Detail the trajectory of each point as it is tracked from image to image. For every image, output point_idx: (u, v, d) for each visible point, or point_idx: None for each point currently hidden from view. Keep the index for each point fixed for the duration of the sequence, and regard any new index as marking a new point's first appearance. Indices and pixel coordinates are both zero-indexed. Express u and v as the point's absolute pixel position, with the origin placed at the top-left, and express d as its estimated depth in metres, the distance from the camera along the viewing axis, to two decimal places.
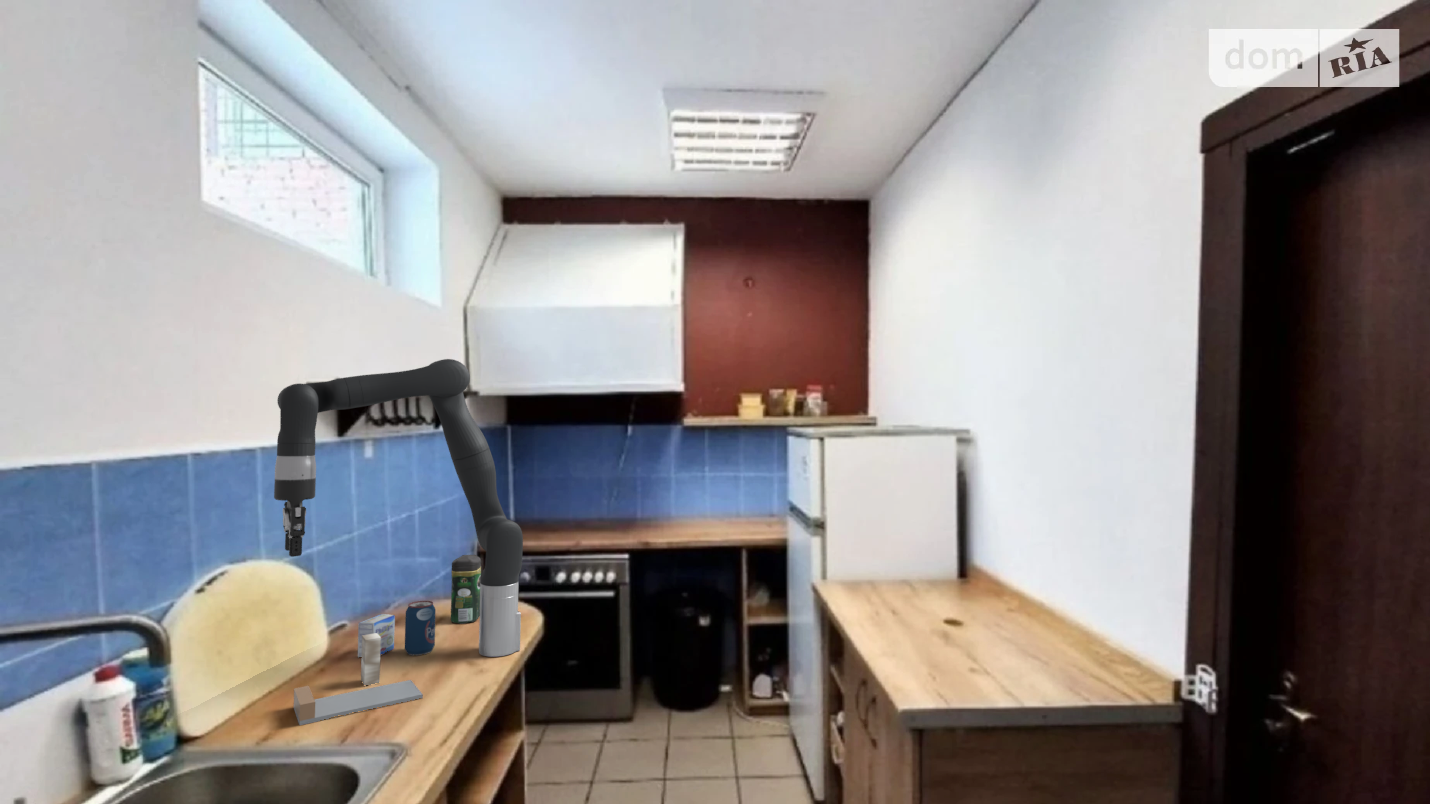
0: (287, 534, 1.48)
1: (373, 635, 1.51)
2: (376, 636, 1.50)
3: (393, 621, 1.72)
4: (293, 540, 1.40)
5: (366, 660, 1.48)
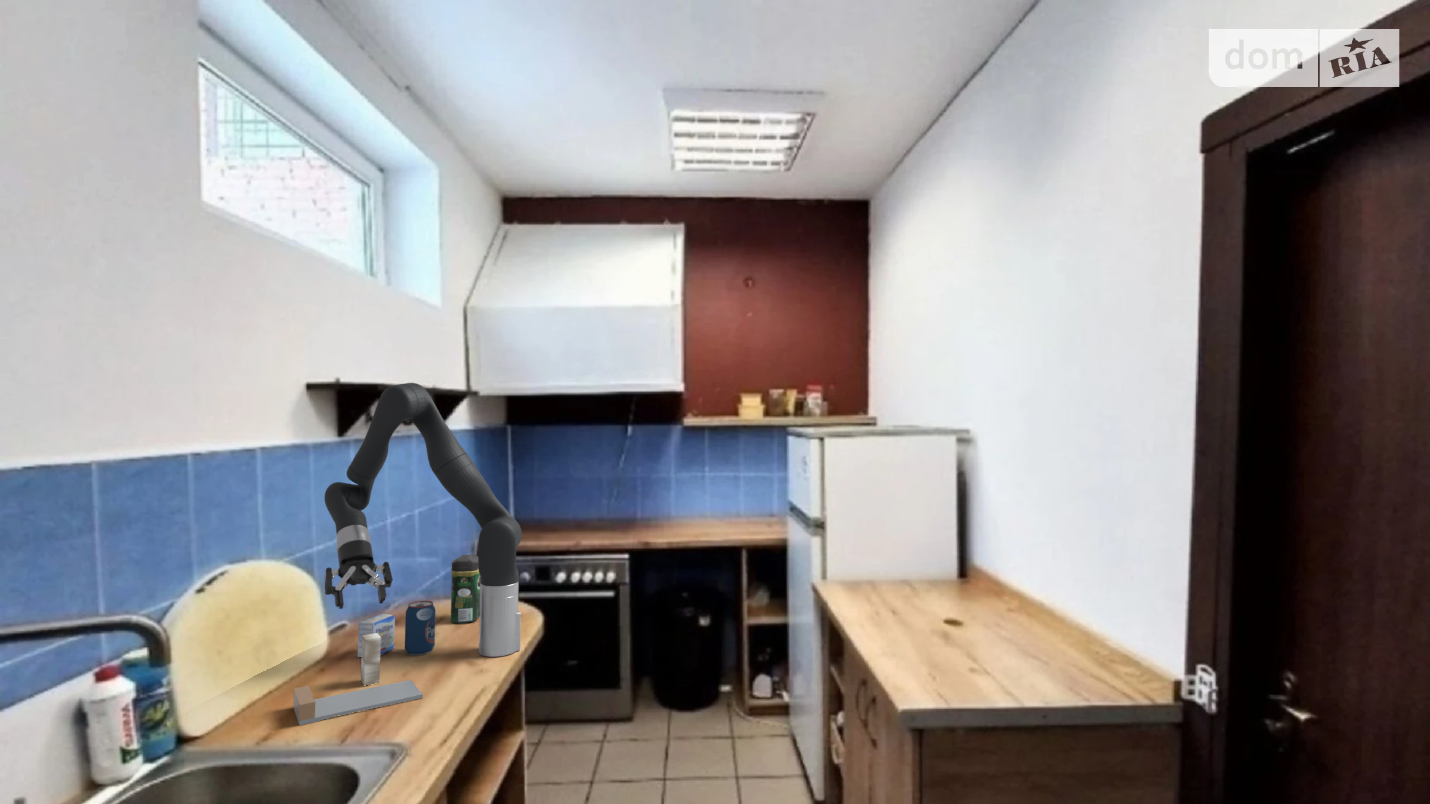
0: None
1: (373, 635, 1.51)
2: (376, 636, 1.50)
3: (393, 621, 1.72)
4: None
5: (366, 660, 1.48)
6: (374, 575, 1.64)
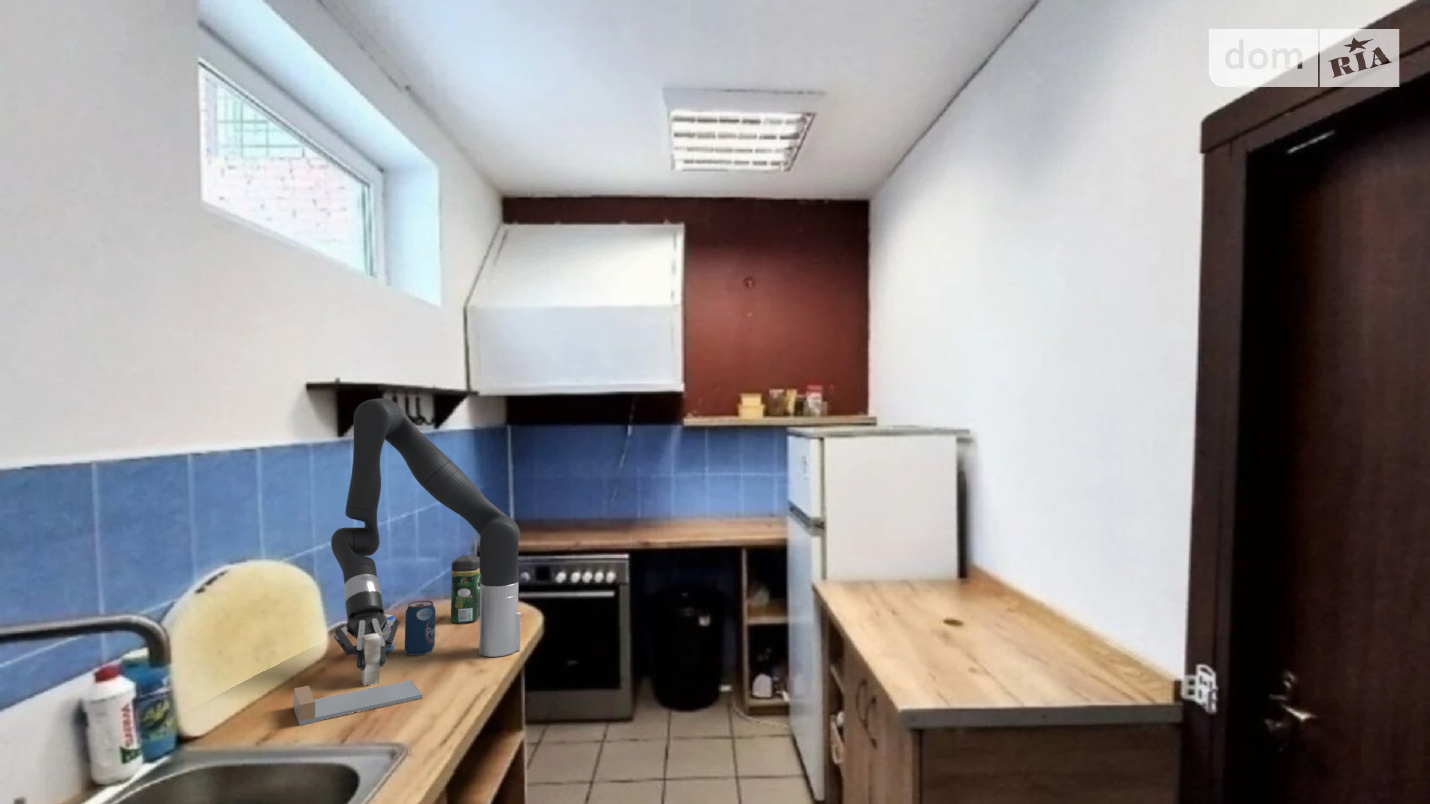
0: None
1: (373, 635, 1.51)
2: (376, 636, 1.50)
3: None
4: None
5: (366, 660, 1.48)
6: (378, 633, 1.52)
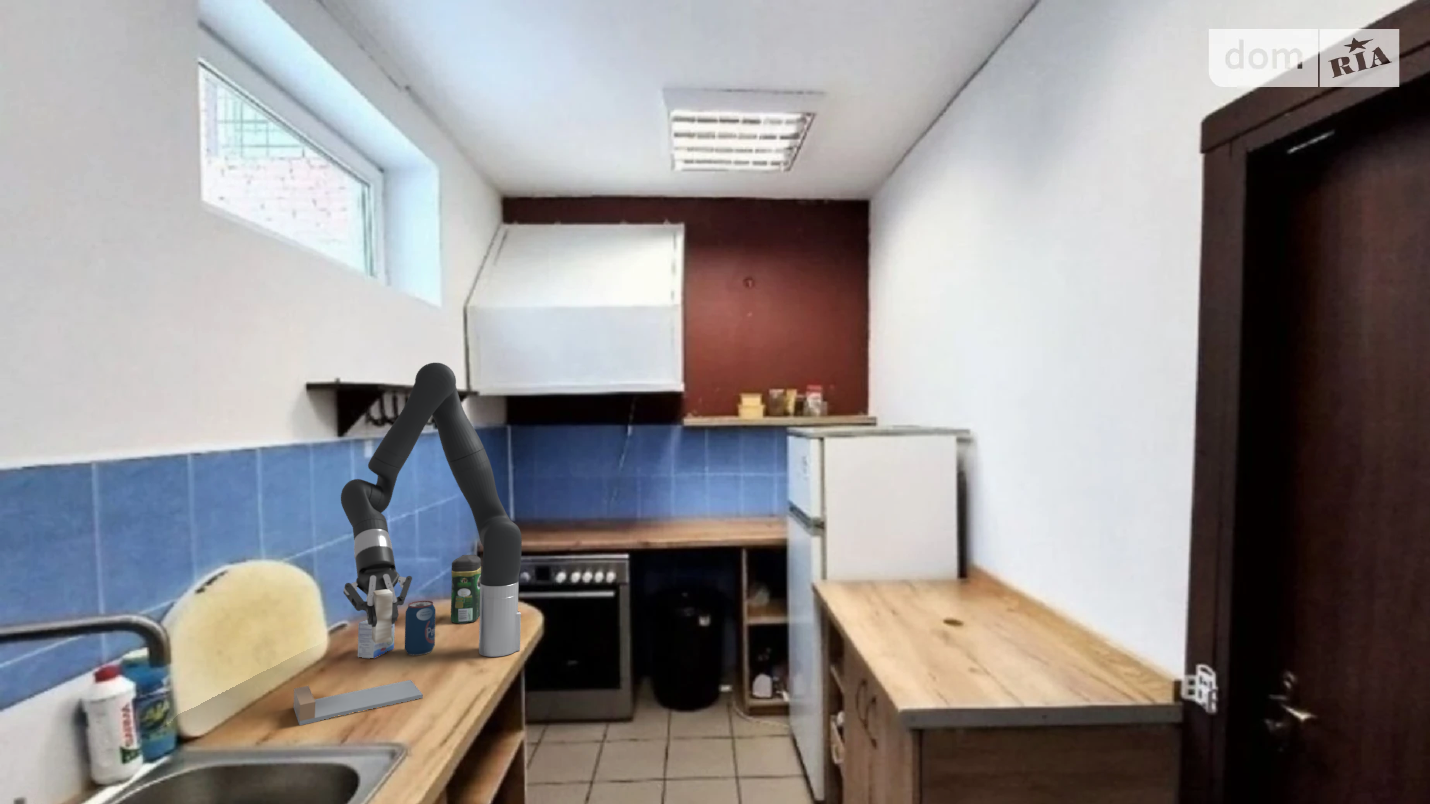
0: None
1: (385, 591, 1.43)
2: (388, 591, 1.42)
3: None
4: (366, 612, 1.41)
5: (377, 616, 1.39)
6: (390, 589, 1.44)
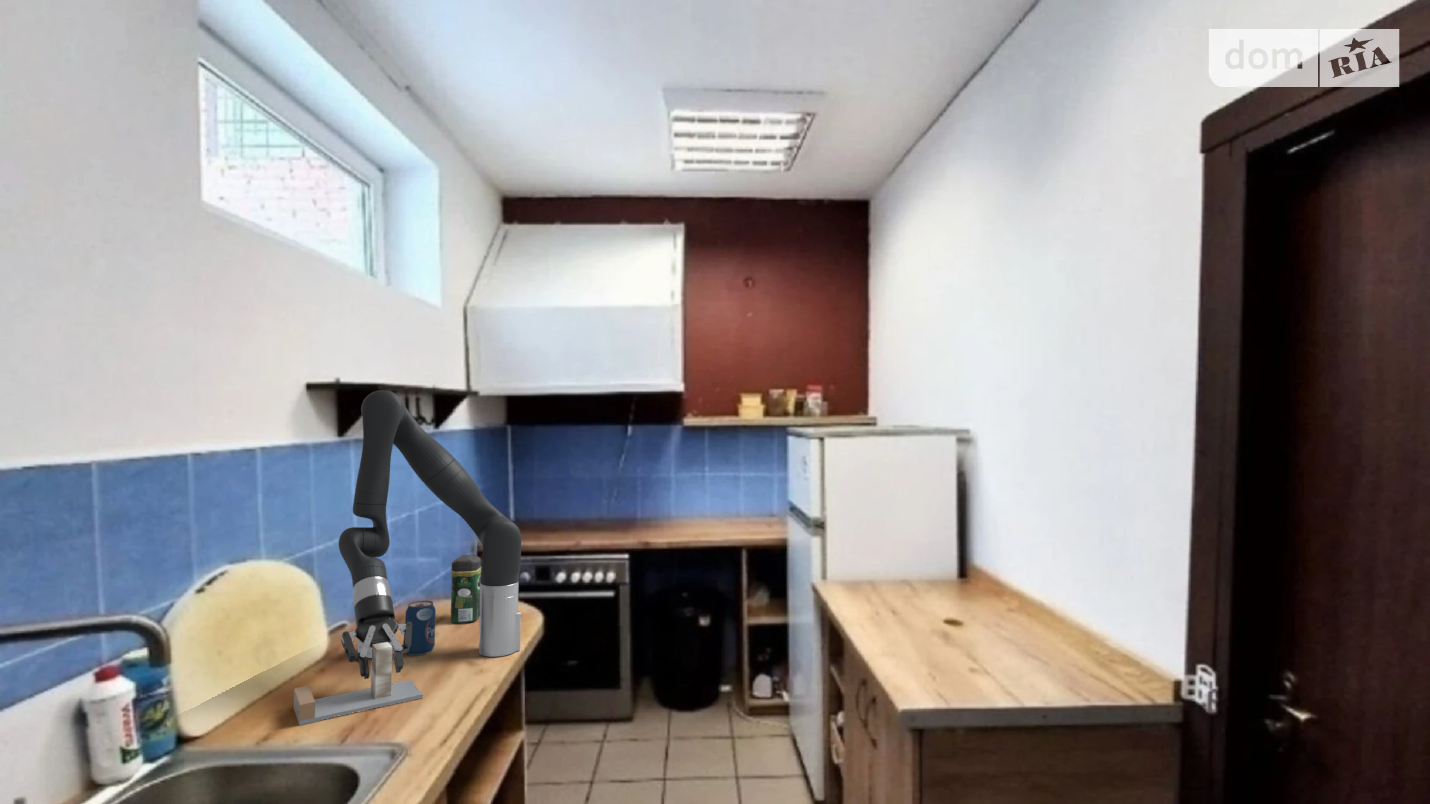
0: None
1: (384, 644, 1.42)
2: (387, 645, 1.41)
3: None
4: (359, 663, 1.39)
5: (377, 671, 1.39)
6: (393, 638, 1.44)
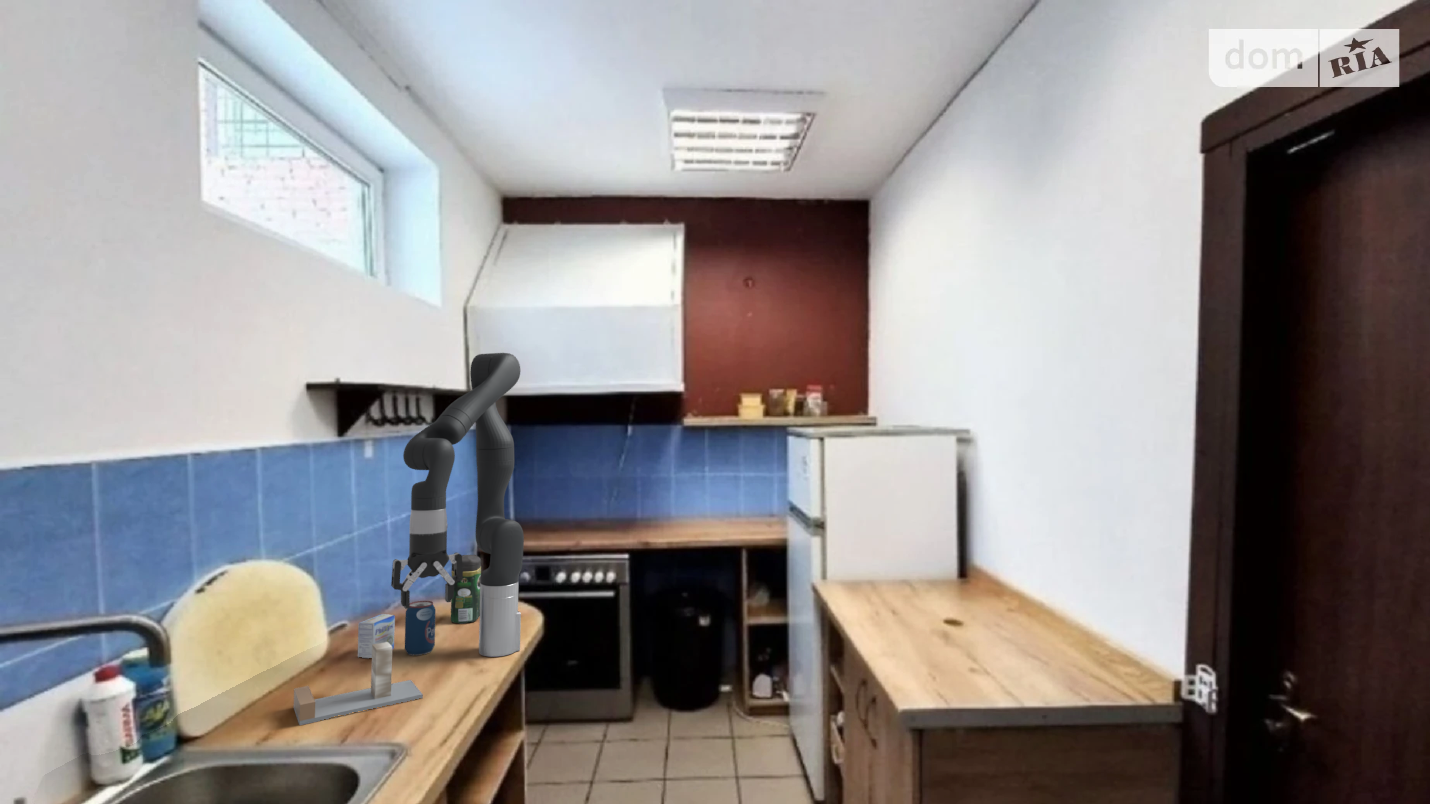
0: None
1: (384, 644, 1.42)
2: (387, 645, 1.41)
3: (393, 621, 1.72)
4: (453, 585, 1.50)
5: (377, 671, 1.39)
6: None
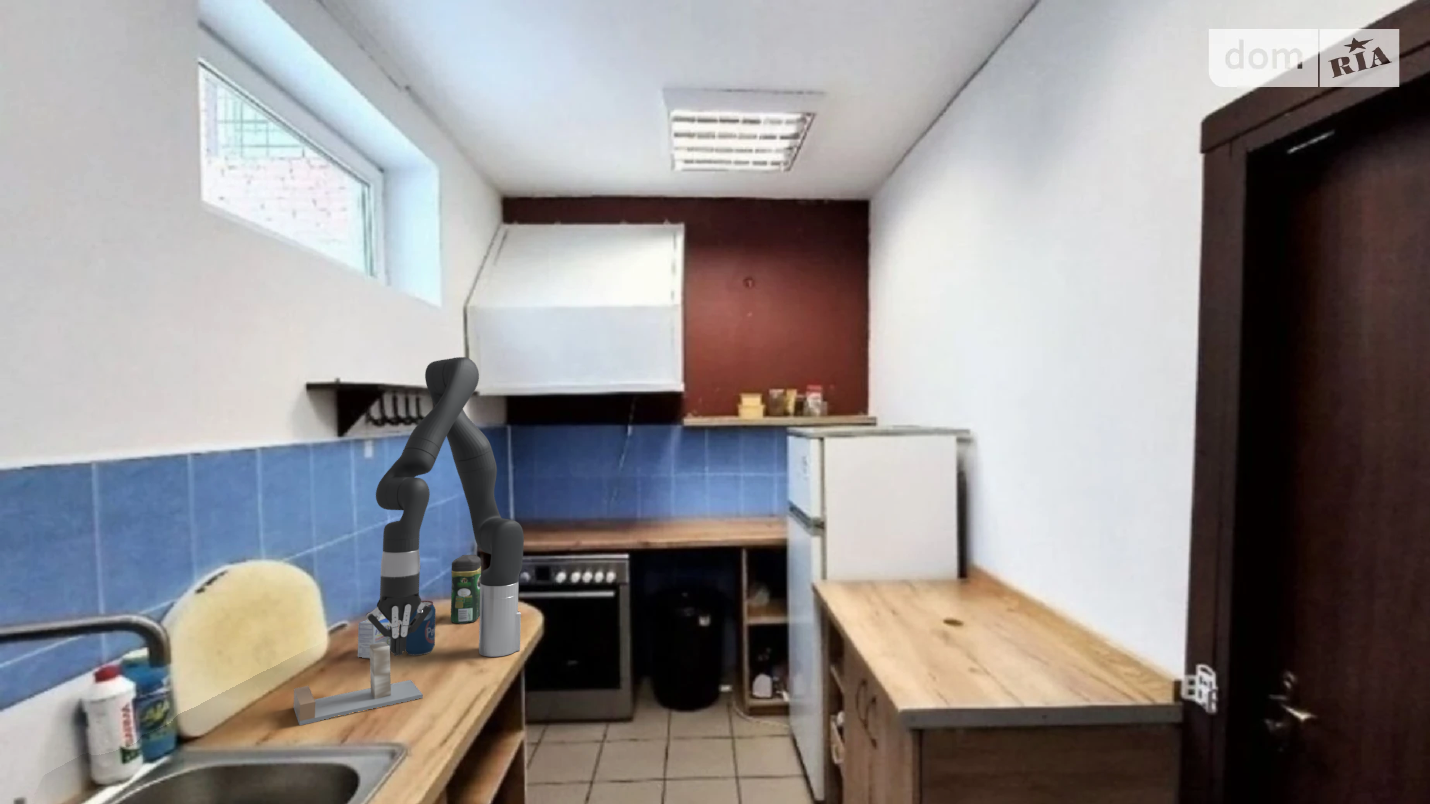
0: None
1: (381, 644, 1.42)
2: (384, 645, 1.41)
3: None
4: None
5: (375, 671, 1.39)
6: None
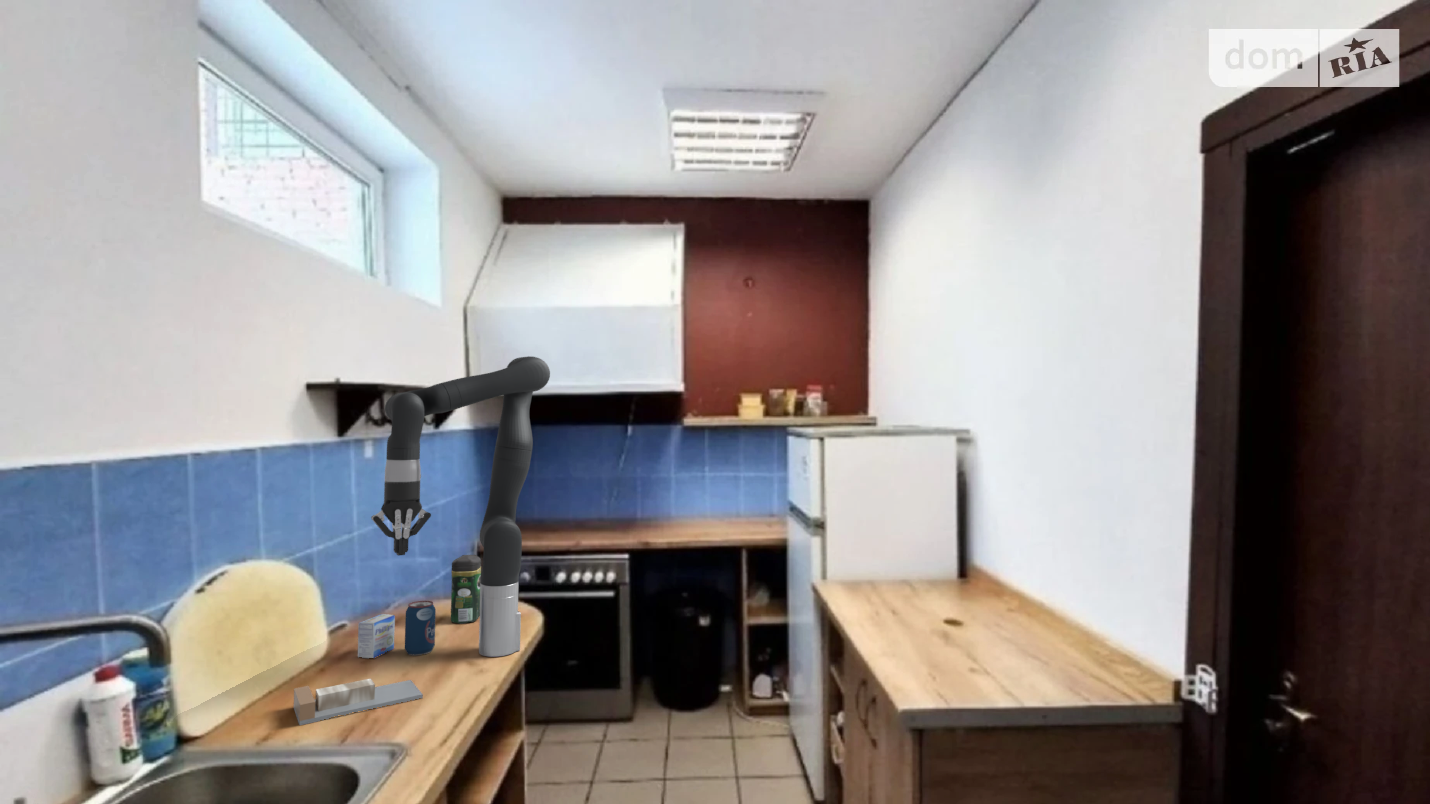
0: None
1: (316, 697, 1.34)
2: (317, 696, 1.33)
3: (393, 621, 1.72)
4: None
5: (344, 704, 1.35)
6: None
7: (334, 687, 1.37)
